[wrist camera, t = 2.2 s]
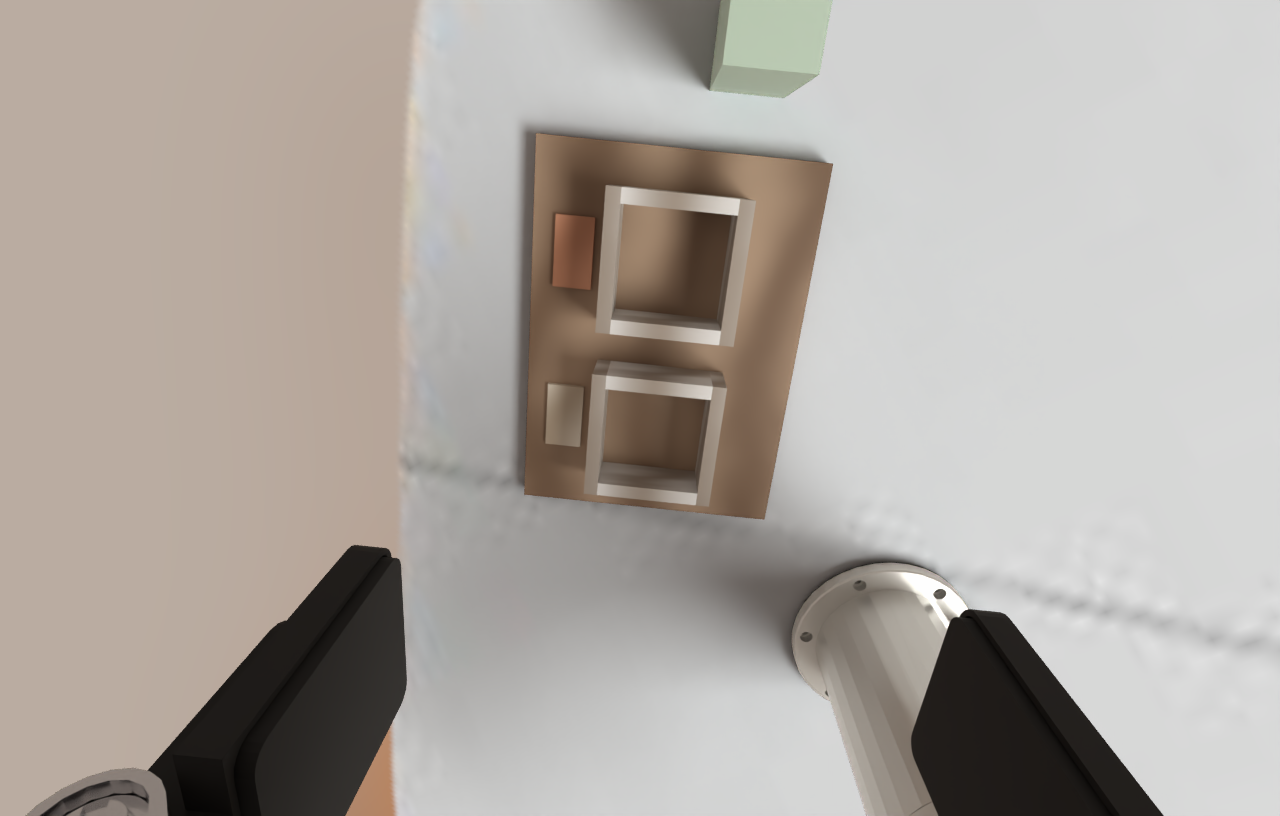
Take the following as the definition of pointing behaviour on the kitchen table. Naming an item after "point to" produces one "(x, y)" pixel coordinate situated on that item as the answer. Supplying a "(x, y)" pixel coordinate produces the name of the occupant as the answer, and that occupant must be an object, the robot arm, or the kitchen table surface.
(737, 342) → the socket board
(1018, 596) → the kitchen table surface
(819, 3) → the plug
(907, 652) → the robot arm
